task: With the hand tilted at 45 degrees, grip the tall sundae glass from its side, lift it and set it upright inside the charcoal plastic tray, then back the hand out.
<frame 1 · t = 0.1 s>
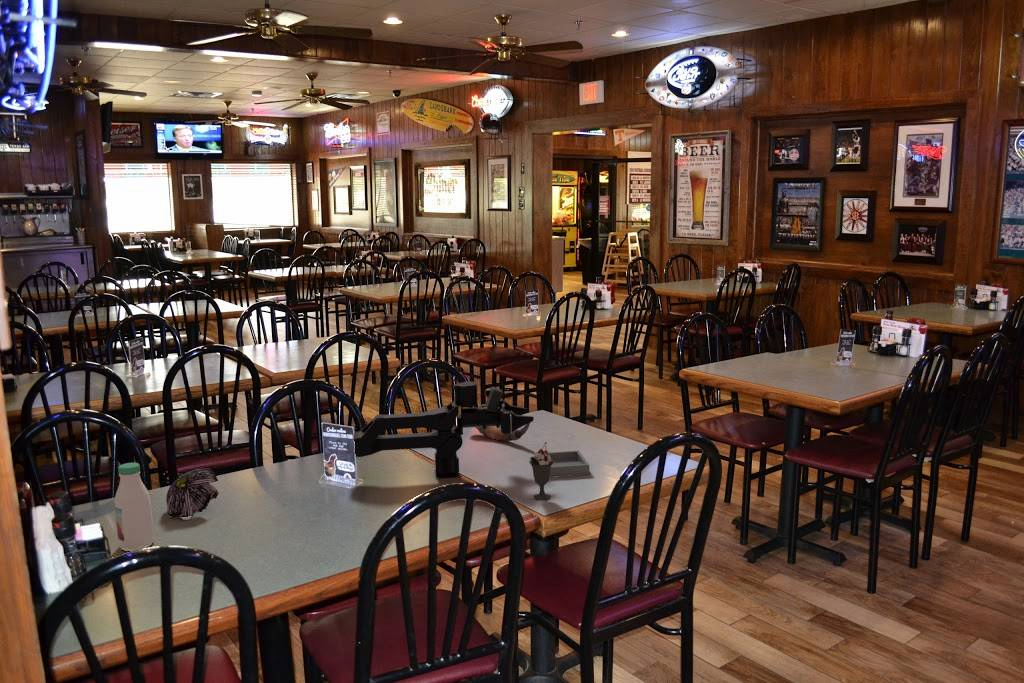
hand: (530, 414, 243), 17 cm above the table, tool horizontal, fingers open, 9 cm apart
decorative flower: (192, 511, 219), on the table
milk bottle: (137, 546, 197), on the table
tray: (561, 468, 246), on the table
sundae: (542, 498, 223), on the table
drinking horn: (499, 440, 275), on the table
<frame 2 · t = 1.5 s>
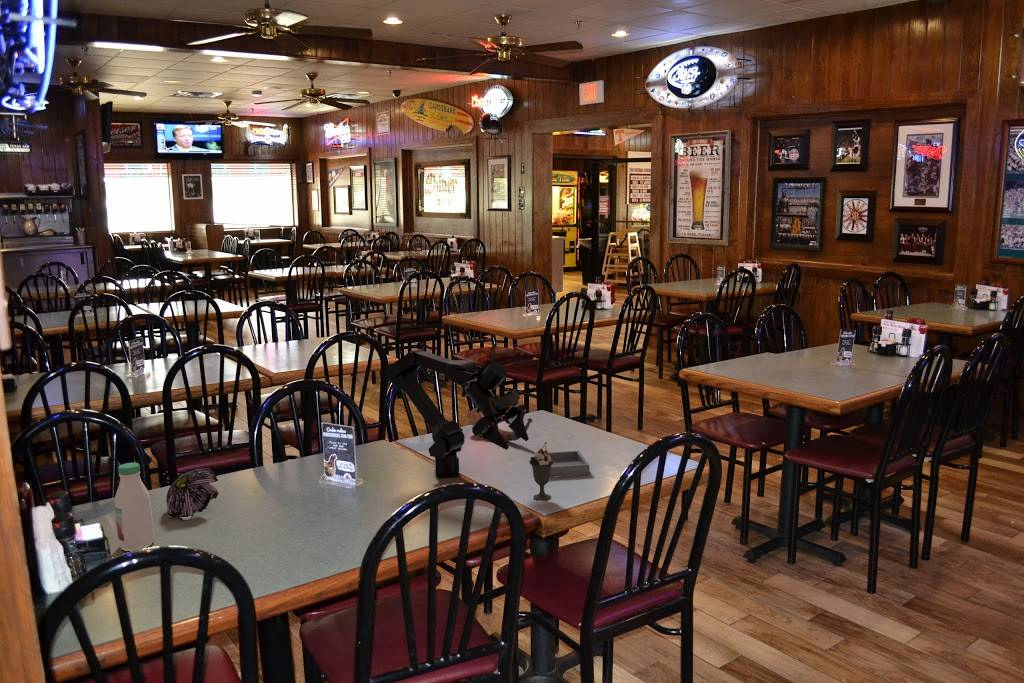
hand: (517, 444, 225), 13 cm above the table, tool tilted 45°, fingers open, 9 cm apart
nothing on the table moved.
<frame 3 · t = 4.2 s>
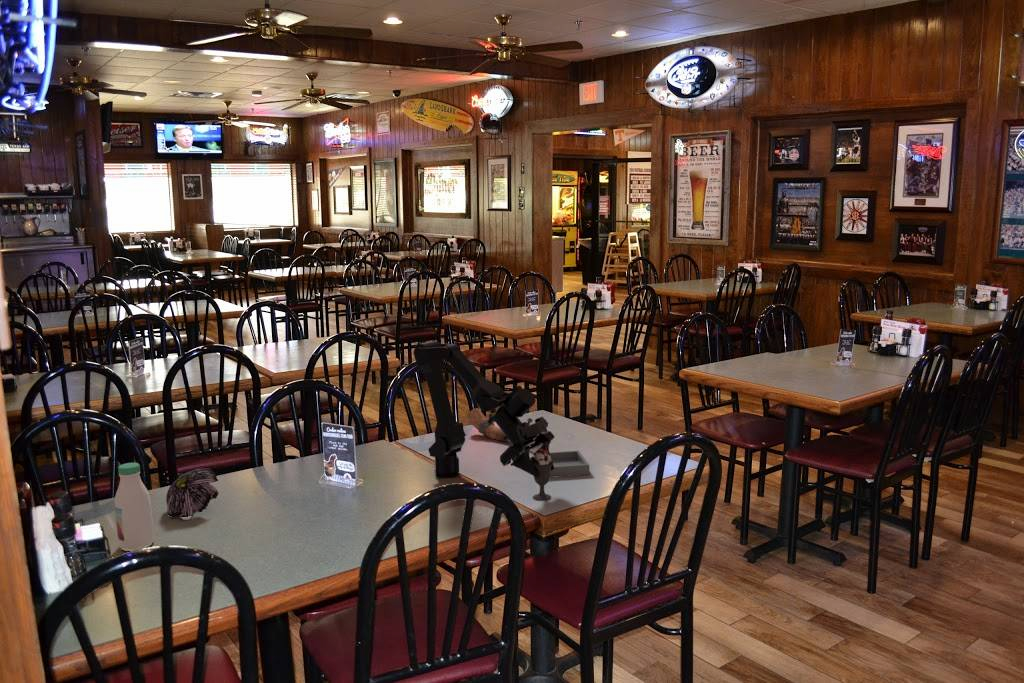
hand: (546, 473, 221), 7 cm above the table, tool tilted 45°, fingers closed on sundae, 6 cm apart
sundae: (542, 498, 223), on the table, touching gripper
everything else where it was.
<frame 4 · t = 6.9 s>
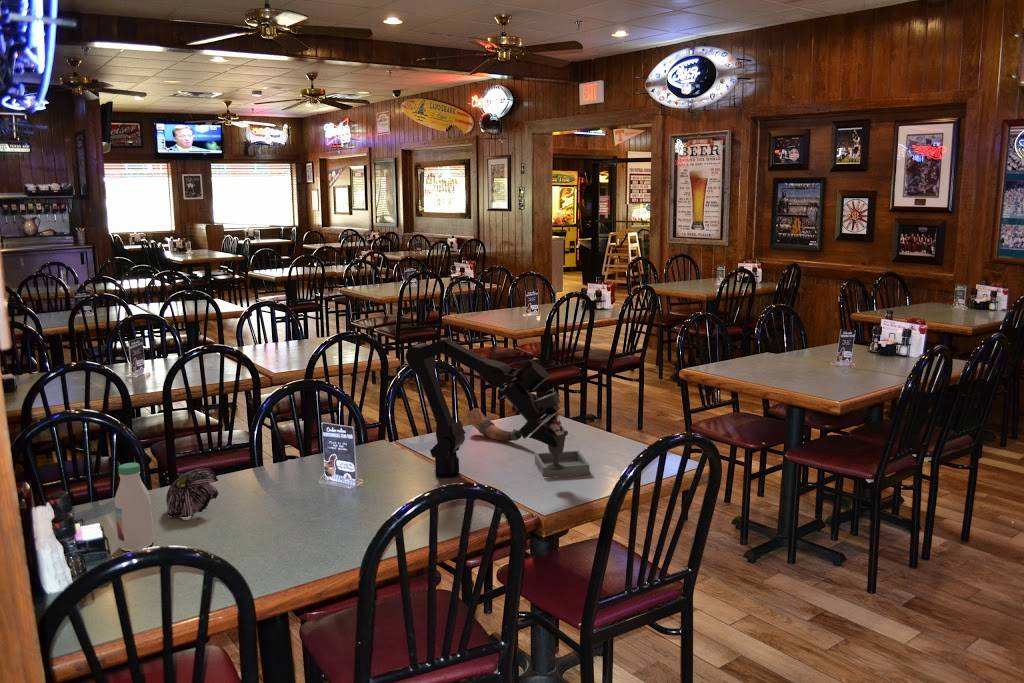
hand: (560, 443, 228), 13 cm above the table, tool tilted 45°, fingers closed on sundae, 6 cm apart
sundae: (555, 468, 230), point 5 cm above the table, touching gripper
everything else where it was.
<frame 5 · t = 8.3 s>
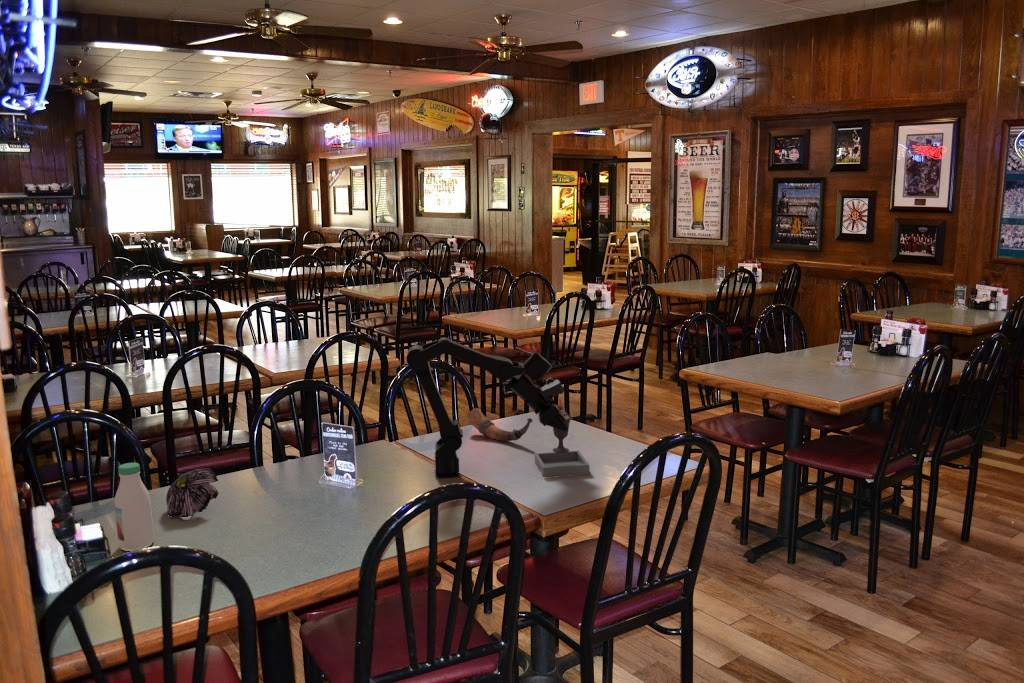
hand: (565, 427, 244), 13 cm above the table, tool tilted 45°, fingers closed on sundae, 6 cm apart
sundae: (560, 451, 245), point 5 cm above the table, touching gripper
everything else where it was.
when the fingers open (9 cm above the table, at t = 9.7 s): sundae stays where it is, resting on tray.
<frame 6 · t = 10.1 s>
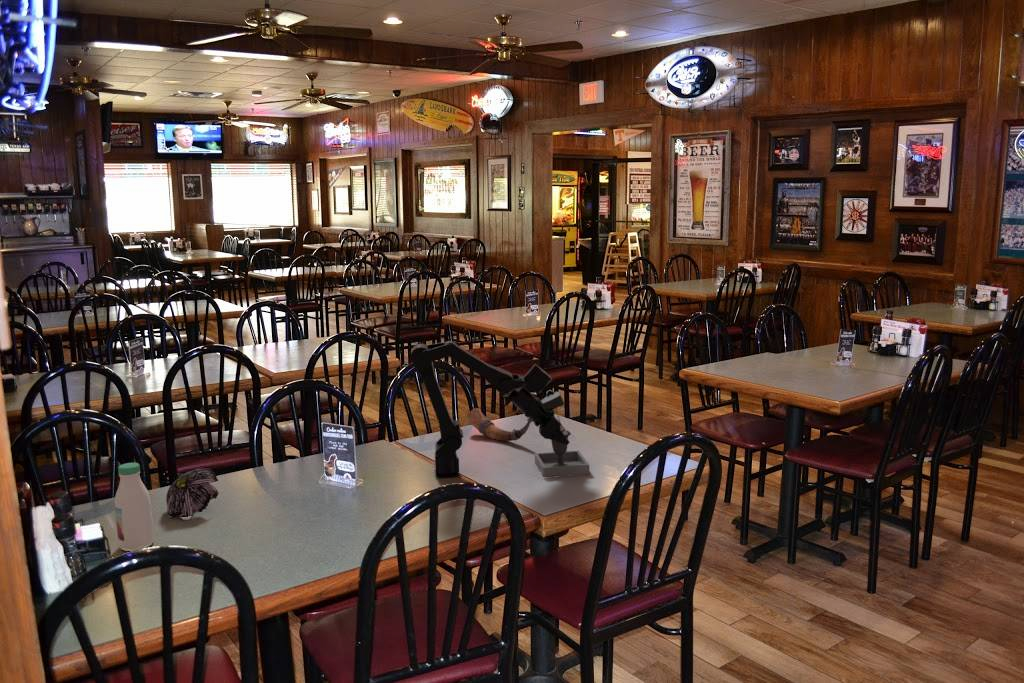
hand: (565, 438, 244), 9 cm above the table, tool tilted 45°, fingers open, 9 cm apart
sundae: (560, 466, 246), resting on tray
everything else where it was.
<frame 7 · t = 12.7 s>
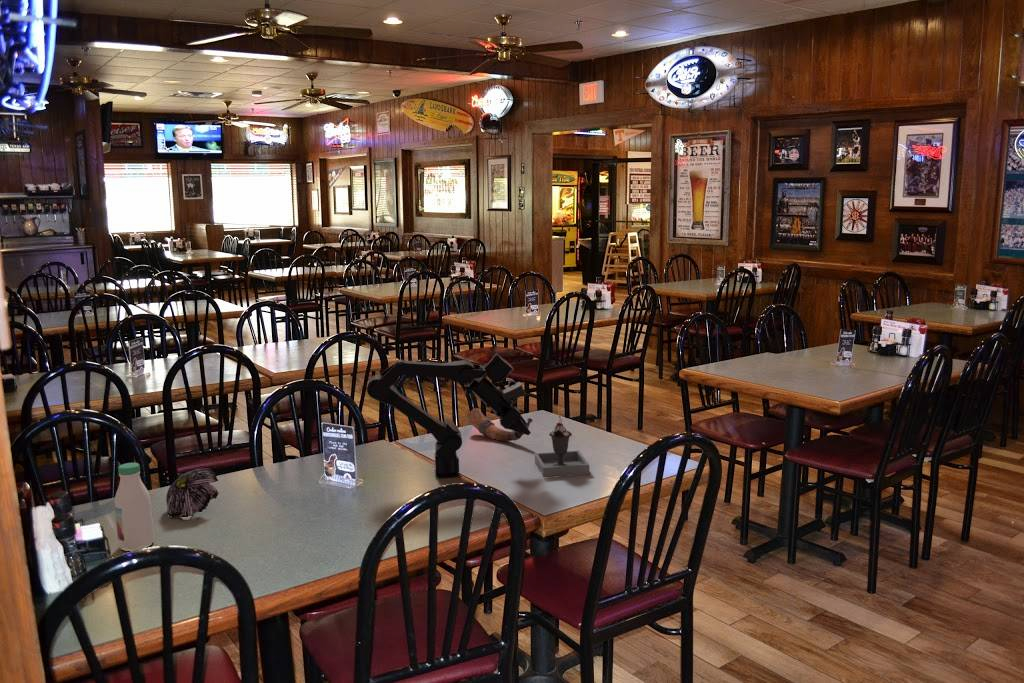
hand: (527, 429, 243), 12 cm above the table, tool tilted 45°, fingers open, 9 cm apart
nothing on the table moved.
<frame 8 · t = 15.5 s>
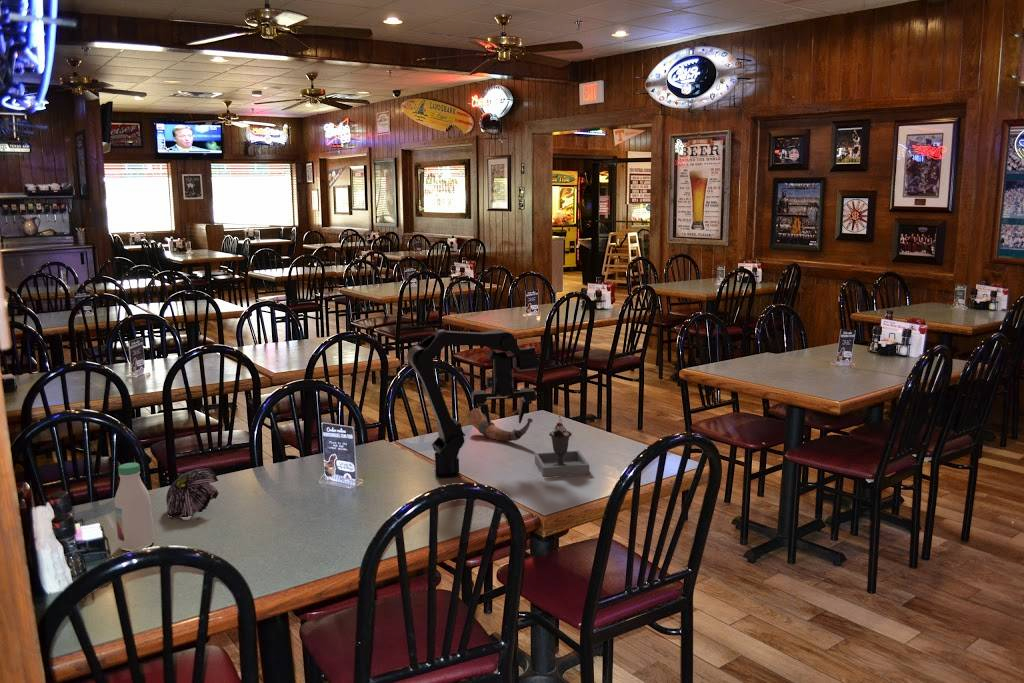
hand: (504, 423, 247), 13 cm above the table, tool pointing down, fingers open, 9 cm apart
nothing on the table moved.
at the end: sundae inside the target area on the tray (0.3 cm from its centre), point 0.4 cm above the tray's base; sundae tilted 0°; the gripper is holding nothing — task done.
